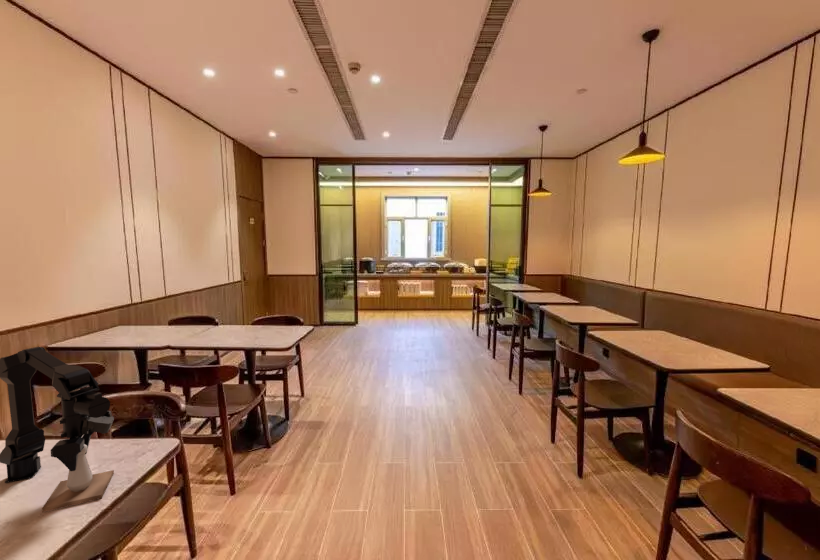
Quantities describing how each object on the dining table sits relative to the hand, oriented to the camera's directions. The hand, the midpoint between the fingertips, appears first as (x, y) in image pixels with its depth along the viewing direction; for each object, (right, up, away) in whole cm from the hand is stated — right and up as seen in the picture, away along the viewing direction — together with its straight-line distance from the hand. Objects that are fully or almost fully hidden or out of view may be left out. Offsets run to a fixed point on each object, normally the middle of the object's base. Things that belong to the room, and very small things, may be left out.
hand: (78, 462), depth 108 cm
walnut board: (0, -9, +1) cm, 9 cm away
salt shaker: (0, -8, +1) cm, 8 cm away
